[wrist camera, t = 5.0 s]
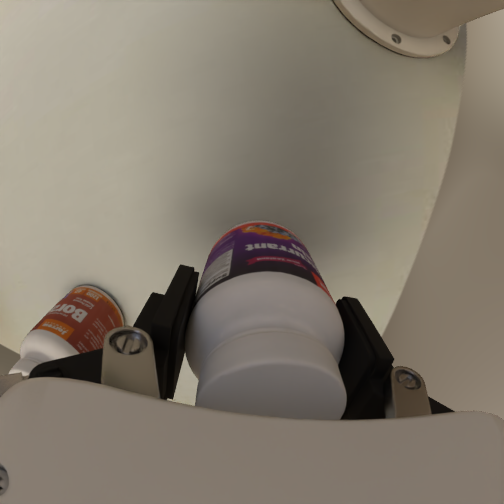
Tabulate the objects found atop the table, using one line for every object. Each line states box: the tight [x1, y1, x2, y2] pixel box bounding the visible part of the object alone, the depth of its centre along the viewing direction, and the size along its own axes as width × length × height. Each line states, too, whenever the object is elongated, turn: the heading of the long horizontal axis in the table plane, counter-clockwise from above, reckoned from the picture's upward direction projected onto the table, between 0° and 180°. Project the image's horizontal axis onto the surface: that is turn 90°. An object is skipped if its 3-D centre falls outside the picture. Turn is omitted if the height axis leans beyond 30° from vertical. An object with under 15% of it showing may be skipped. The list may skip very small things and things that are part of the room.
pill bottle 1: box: [9, 286, 124, 376], centre depth 18 cm, size 6×6×11 cm
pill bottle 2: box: [185, 221, 347, 420], centre depth 11 cm, size 5×5×10 cm
